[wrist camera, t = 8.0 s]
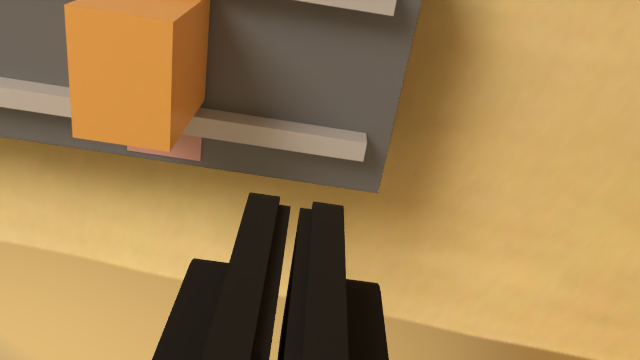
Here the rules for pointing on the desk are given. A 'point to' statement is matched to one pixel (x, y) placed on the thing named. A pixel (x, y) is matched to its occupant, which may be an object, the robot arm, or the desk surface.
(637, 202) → the desk surface
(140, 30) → the block
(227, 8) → the grey railed slider base
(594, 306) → the desk surface
